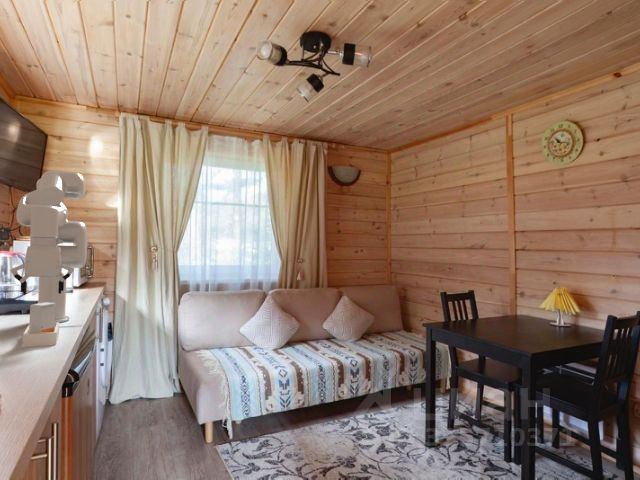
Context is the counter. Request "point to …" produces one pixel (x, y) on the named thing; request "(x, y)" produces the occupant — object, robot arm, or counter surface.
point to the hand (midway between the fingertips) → (42, 293)
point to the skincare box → (42, 318)
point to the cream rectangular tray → (40, 338)
